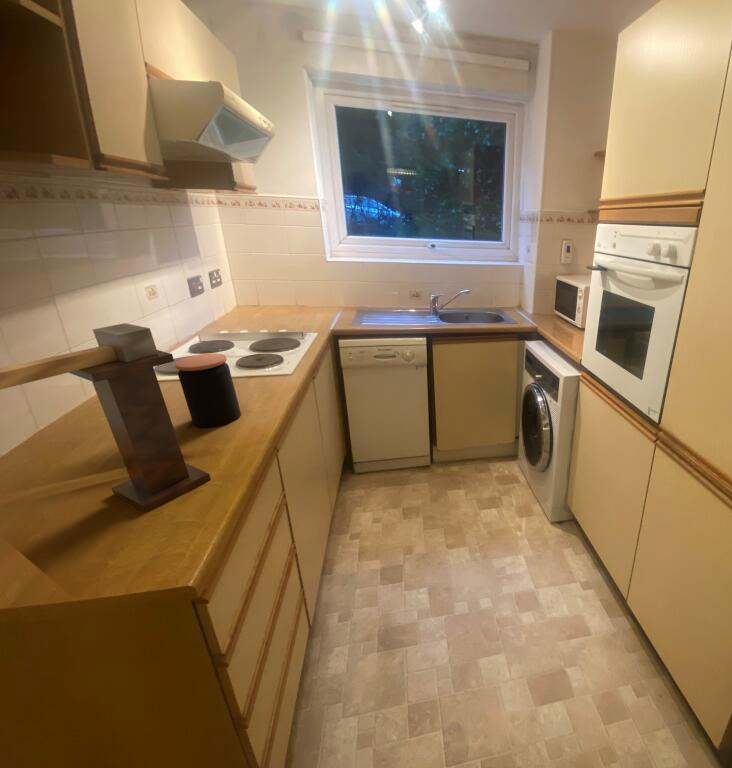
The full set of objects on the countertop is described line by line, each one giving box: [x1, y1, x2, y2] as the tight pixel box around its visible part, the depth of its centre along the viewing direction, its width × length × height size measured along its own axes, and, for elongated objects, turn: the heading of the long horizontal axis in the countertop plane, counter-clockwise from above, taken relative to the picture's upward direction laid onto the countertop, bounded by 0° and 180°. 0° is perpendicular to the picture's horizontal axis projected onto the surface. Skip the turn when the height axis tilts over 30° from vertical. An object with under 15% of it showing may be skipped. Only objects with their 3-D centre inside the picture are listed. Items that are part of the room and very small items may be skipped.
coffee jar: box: [174, 352, 242, 429], centre depth 111 cm, size 11×11×18 cm
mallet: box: [0, 322, 158, 391], centre depth 72 cm, size 21×8×5 cm, turn 155°
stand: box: [68, 349, 212, 513], centre depth 84 cm, size 12×12×28 cm
